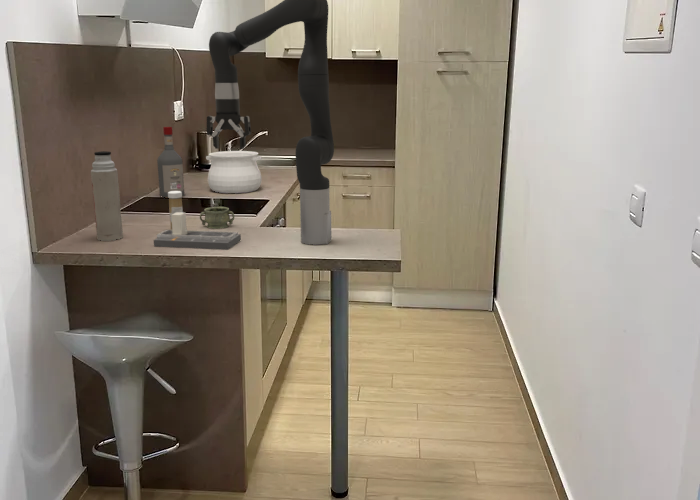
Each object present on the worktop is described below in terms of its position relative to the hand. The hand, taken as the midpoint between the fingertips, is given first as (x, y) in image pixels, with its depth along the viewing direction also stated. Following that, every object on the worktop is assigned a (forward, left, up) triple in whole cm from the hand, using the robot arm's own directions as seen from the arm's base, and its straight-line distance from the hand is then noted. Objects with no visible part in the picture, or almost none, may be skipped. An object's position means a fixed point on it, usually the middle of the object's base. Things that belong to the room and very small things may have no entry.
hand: (229, 148), depth 223 cm
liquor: (+50, -63, -28) cm, 85 cm away
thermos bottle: (+37, +14, -28) cm, 49 cm away
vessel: (+9, -9, -28) cm, 31 cm away
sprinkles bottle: (+20, 0, -28) cm, 35 cm away
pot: (+29, -85, -28) cm, 94 cm away
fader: (+12, +16, -26) cm, 33 cm away
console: (+6, +16, -28) cm, 33 cm away
